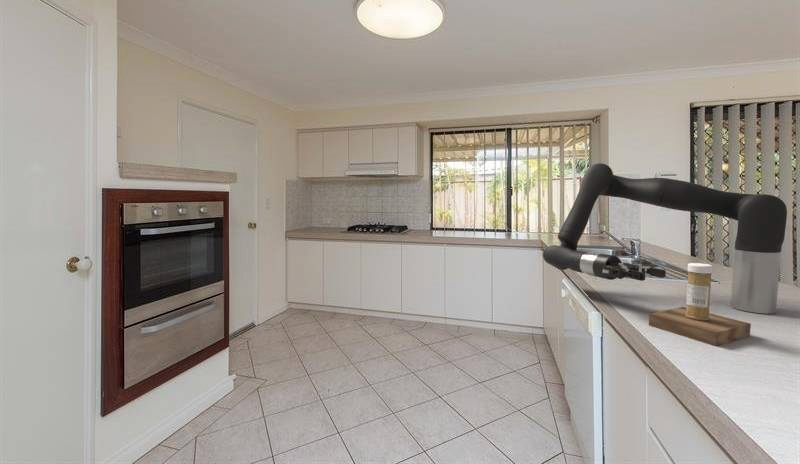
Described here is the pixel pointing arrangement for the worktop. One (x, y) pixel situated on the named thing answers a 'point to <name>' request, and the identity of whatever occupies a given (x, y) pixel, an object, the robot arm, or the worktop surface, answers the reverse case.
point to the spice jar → (698, 291)
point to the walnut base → (700, 326)
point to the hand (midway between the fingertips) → (654, 275)
